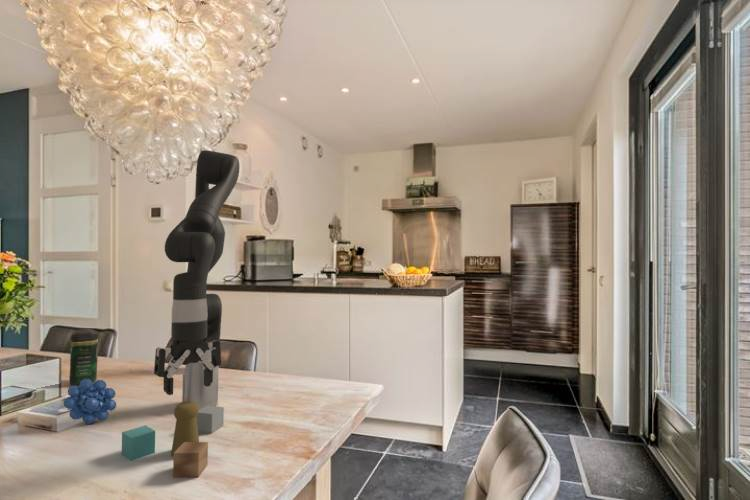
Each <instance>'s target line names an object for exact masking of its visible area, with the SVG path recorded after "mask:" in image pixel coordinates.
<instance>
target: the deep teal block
mask: <svg viewBox="0 0 750 500" xmlns="http://www.w3.org/2000/svg"><path fill="white" fill-rule="evenodd" d="M155 453H156V430H154V429H152V428H151V427H150V426H148V425H141V426H138V427H136V428H132V429H128V430H125V431H121V455H122V456H124V457H125V458H126V459H127V460H129V461H130V462H133V461H135V460H138V459H141V458H144V457H146V456H149V455H153V454H155Z"/></svg>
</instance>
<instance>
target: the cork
mask: <svg viewBox="0 0 750 500" xmlns="http://www.w3.org/2000/svg"><path fill="white" fill-rule="evenodd" d="M198 412H199V406H198V404H197V403H195V402H191V401H189V402H183V403H182V402H179V403H178V404H177V405H176V406H175V407H174V410H173V415H174V418H175V419H176V421H175V426H174V434H173V439H172V447H171V450H170V451H171V452H170V455H171V457H172V458H174V452H175V451H176V450H177V449H178V448H179V447H180V446H181V445H182V444H183V443H184V442H200V437H199V432H198V428H197V419H196V416H197V415H198Z"/></svg>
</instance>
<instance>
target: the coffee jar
mask: <svg viewBox="0 0 750 500" xmlns="http://www.w3.org/2000/svg"><path fill="white" fill-rule="evenodd" d="M98 347H99V332H98V331H97V330H95V329H93V328H83V329H82V328H81V329H78V330H76V331H74V332H73V333H72V334H71V336H70V354H69V355H70V356H69V358H70V360H69V361H70V363H69V385H70V386H79V384H80V382H81V381H82V380H83V379H90V380H91V381H92V382H93V384H94V382H95V381H97V380H98V379H97V376H98V374H97V373H98V354H99V353H98V351H99V348H98ZM79 387H80V386H79Z"/></svg>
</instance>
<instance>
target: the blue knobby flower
mask: <svg viewBox="0 0 750 500" xmlns="http://www.w3.org/2000/svg"><path fill="white" fill-rule="evenodd" d="M116 393H117V392H116V391H115V390H114V389H113V388H112V387H111V388H110V387H107V383H106V381H105V380H103V379H102V380H101V379H96V381H95V382H94V383H93V382H92V381H91V380H90V379H83V380H82V381H81V382H80V384H79V386H78V385H70V387H68V389H67V395H68V397H67V398H65V399H64V401H63V406H64V407H65V408H66V409H67V410H70V411H69V417H70V418H71V419H72V420H80V419H81V420H82V422H83V423H84V424H86V425H91V424H93V423H94V422H95V421H96V419H97V420H98V421H105V420H107V419H108V418H109V412H111V411H113V410H115V409H116V408H117V401H115V400H114V399H113V398H115V397H116Z"/></svg>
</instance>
